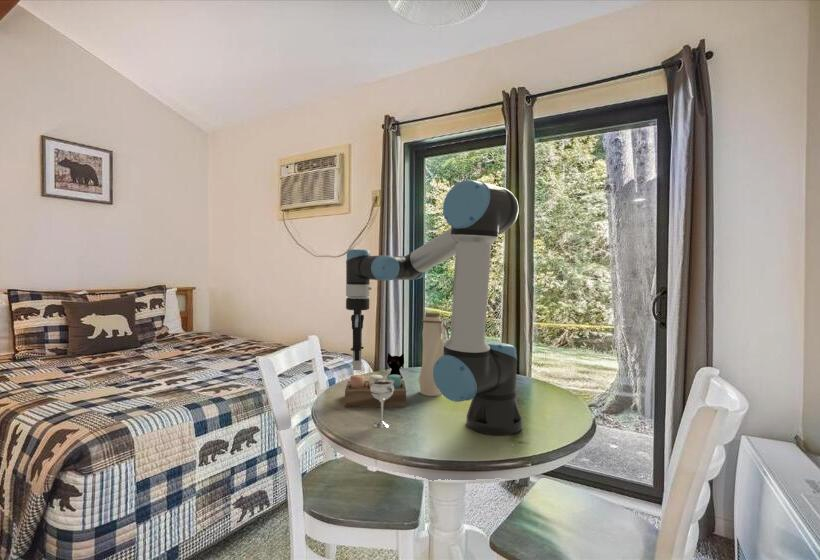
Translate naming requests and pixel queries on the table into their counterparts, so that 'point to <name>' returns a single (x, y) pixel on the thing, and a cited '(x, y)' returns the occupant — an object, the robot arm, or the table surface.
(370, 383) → the ivory button
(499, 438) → the table surface
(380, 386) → the wineglass
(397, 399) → the console
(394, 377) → the teal button
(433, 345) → the water bottle
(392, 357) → the cat figurine
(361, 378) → the terracotta button
